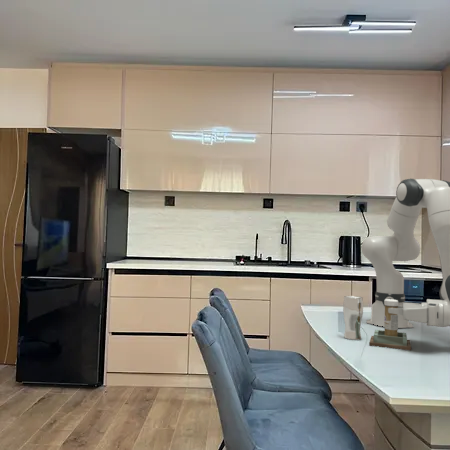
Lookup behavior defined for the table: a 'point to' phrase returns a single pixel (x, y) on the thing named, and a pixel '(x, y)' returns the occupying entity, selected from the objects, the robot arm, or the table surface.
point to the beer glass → (352, 317)
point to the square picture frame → (390, 340)
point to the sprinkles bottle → (390, 318)
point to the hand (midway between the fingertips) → (388, 309)
